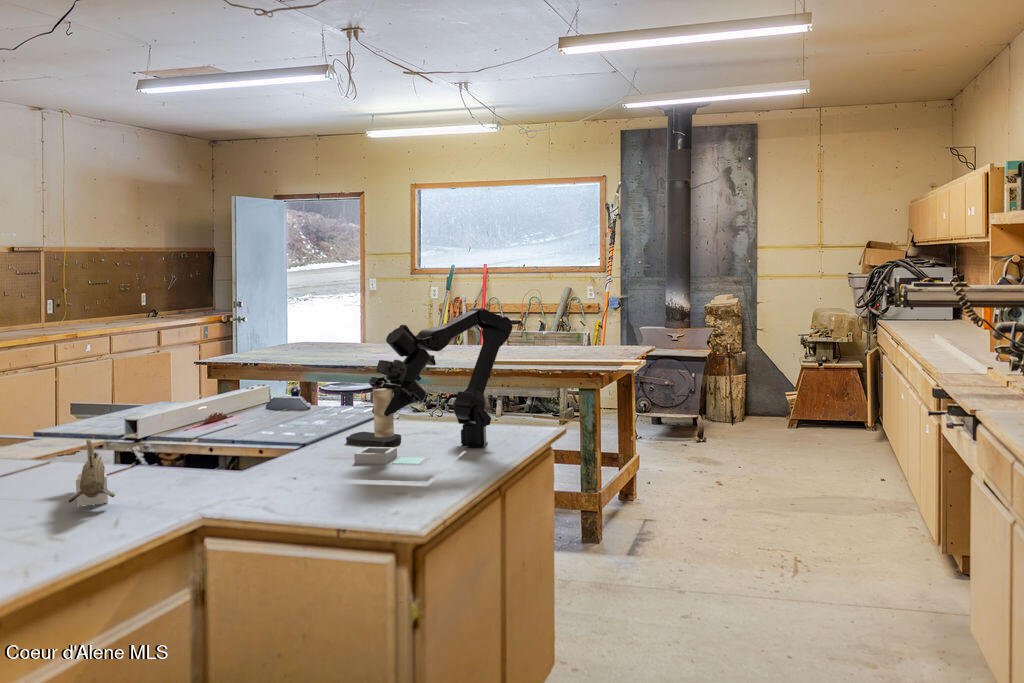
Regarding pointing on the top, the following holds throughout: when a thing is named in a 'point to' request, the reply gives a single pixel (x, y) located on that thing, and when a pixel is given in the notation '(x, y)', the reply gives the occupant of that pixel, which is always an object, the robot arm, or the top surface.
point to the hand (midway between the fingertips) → (379, 414)
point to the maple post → (382, 413)
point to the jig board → (385, 457)
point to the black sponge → (373, 440)
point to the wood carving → (92, 481)
